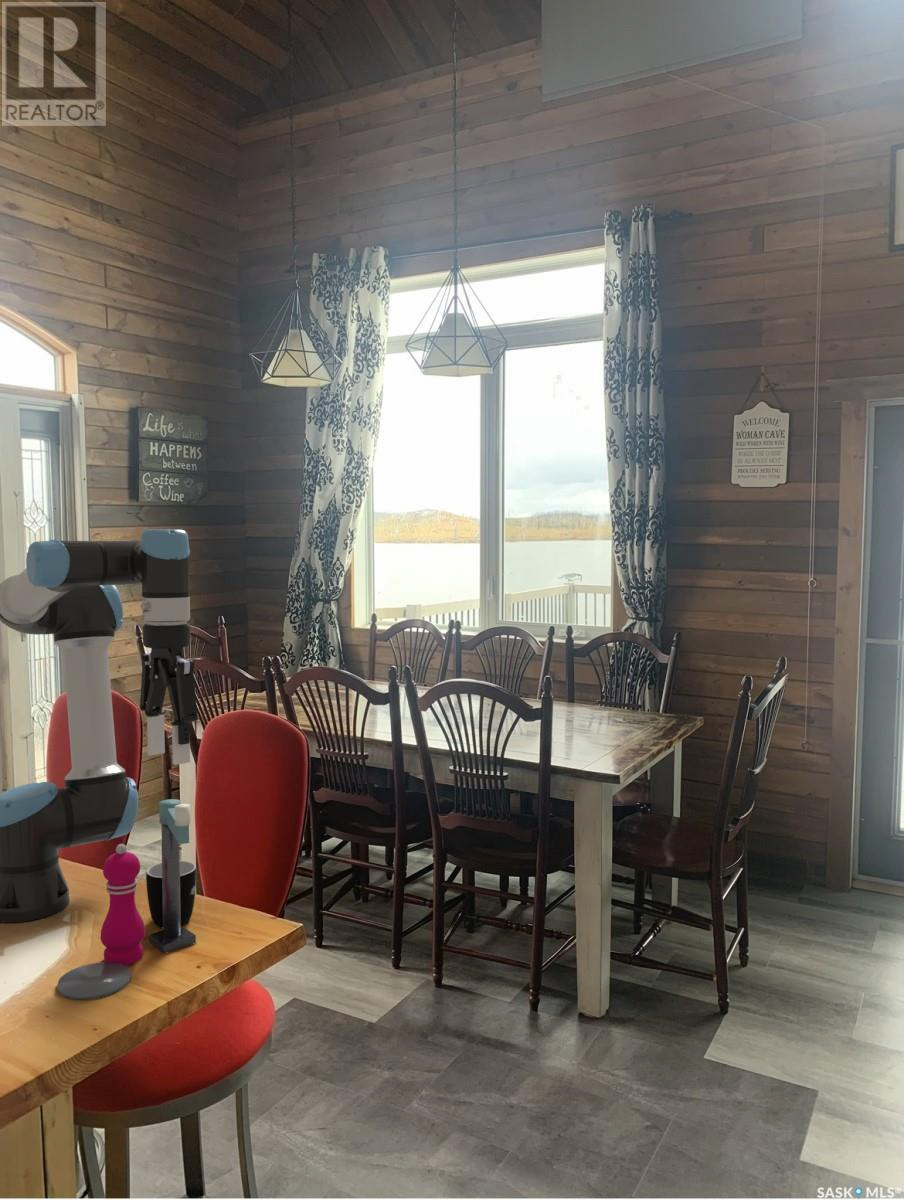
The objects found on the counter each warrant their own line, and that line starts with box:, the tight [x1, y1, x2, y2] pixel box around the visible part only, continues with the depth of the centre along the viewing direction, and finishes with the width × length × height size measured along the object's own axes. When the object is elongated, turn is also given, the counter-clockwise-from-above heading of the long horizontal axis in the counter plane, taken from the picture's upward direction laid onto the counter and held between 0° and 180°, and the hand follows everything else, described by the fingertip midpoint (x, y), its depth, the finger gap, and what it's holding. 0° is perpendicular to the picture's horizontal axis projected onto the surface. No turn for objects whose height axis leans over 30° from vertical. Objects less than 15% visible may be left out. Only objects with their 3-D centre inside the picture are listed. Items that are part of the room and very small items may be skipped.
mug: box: [145, 860, 197, 928], centre depth 173 cm, size 12×9×10 cm
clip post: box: [147, 824, 197, 955], centre depth 162 cm, size 6×6×22 cm
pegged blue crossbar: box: [158, 798, 191, 845], centre depth 156 cm, size 15×4×6 cm, turn 27°
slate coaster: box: [57, 962, 132, 1001], centre depth 148 cm, size 11×11×1 cm
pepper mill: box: [99, 843, 146, 967], centre depth 156 cm, size 7×7×20 cm
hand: (168, 758), depth 152 cm, fingers open, 8 cm apart
